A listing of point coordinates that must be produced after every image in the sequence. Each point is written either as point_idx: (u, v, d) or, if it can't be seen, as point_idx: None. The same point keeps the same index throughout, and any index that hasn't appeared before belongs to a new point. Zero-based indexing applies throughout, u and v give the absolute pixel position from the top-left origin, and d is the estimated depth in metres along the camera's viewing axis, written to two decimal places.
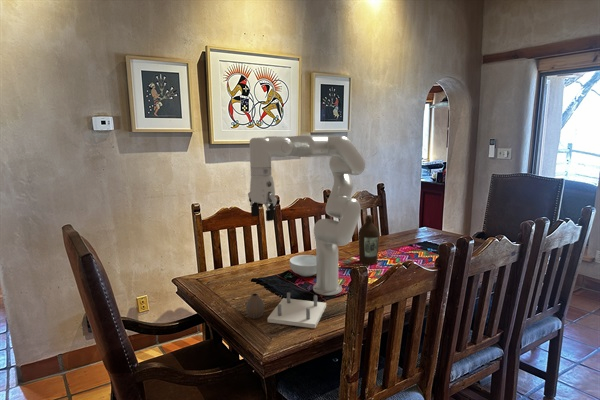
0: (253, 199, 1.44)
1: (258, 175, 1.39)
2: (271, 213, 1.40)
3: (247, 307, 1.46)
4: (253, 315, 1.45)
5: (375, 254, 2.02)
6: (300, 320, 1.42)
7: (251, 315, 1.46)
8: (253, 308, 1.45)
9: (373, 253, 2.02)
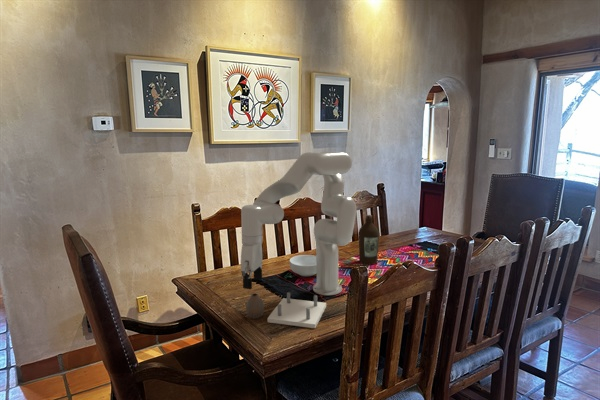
0: (255, 268, 1.42)
1: None
2: None
3: (247, 307, 1.46)
4: (253, 315, 1.45)
5: (375, 254, 2.02)
6: (300, 320, 1.42)
7: (251, 315, 1.46)
8: (253, 308, 1.45)
9: (373, 253, 2.02)
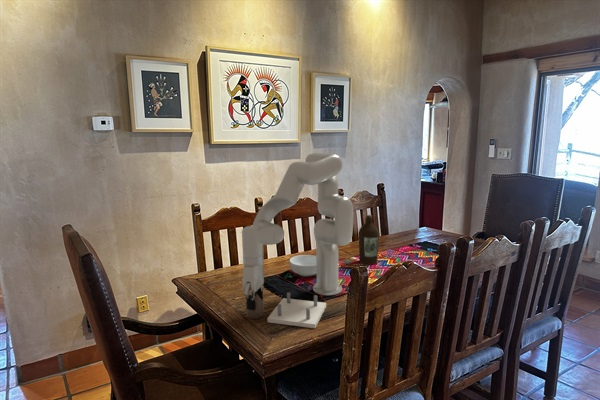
0: (257, 288, 1.44)
1: None
2: None
3: None
4: (253, 315, 1.45)
5: (375, 254, 2.02)
6: (300, 320, 1.42)
7: (251, 315, 1.46)
8: None
9: (373, 253, 2.02)
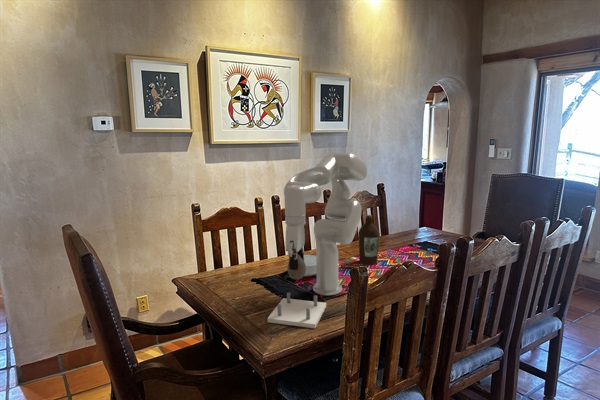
0: (299, 248, 1.43)
1: None
2: None
3: None
4: (295, 275, 1.44)
5: (375, 254, 2.02)
6: (300, 320, 1.42)
7: (293, 275, 1.45)
8: None
9: (373, 253, 2.02)
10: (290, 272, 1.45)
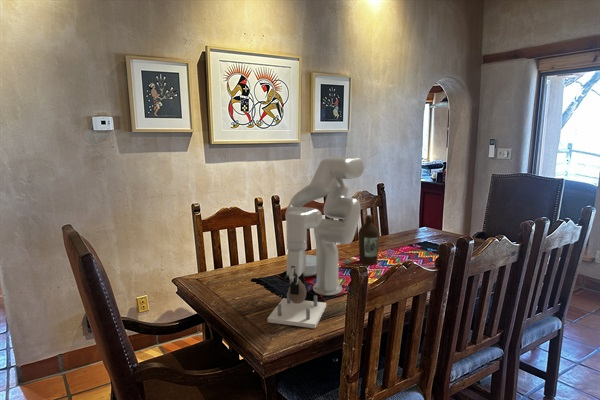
0: (300, 273, 1.44)
1: None
2: None
3: None
4: (296, 300, 1.46)
5: (375, 254, 2.02)
6: (300, 320, 1.42)
7: (294, 300, 1.46)
8: None
9: (373, 253, 2.02)
10: (291, 297, 1.46)
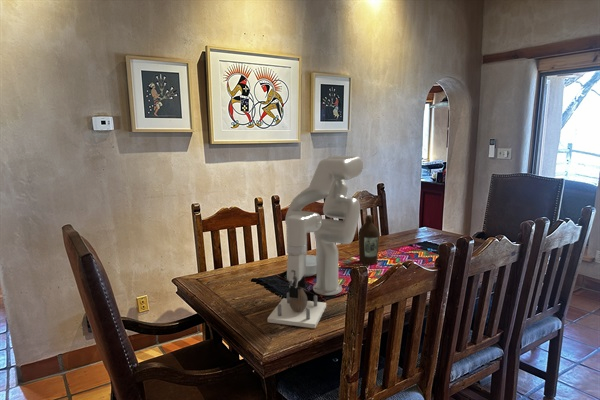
0: (301, 277, 1.45)
1: None
2: None
3: (291, 300, 1.47)
4: (297, 308, 1.47)
5: (375, 254, 2.02)
6: (300, 320, 1.42)
7: (295, 308, 1.47)
8: (298, 301, 1.46)
9: (373, 253, 2.02)
10: (292, 305, 1.47)
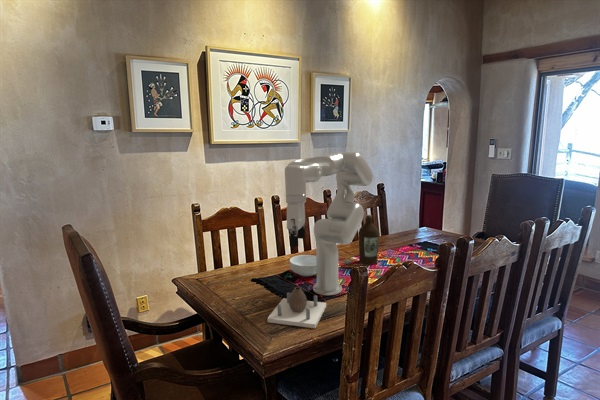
0: (300, 226, 1.46)
1: None
2: None
3: (290, 301, 1.47)
4: (297, 309, 1.47)
5: (375, 254, 2.02)
6: (300, 320, 1.42)
7: (295, 309, 1.47)
8: (297, 301, 1.46)
9: (373, 253, 2.02)
10: (292, 305, 1.47)
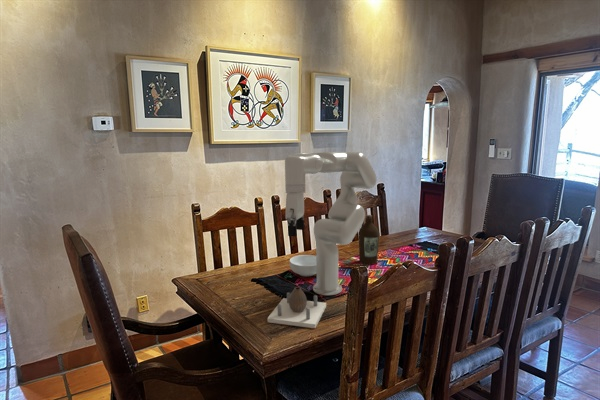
0: (299, 216, 1.47)
1: None
2: None
3: (291, 301, 1.47)
4: (297, 309, 1.47)
5: (375, 254, 2.02)
6: (300, 320, 1.42)
7: (295, 309, 1.47)
8: (297, 301, 1.46)
9: (373, 253, 2.02)
10: (292, 305, 1.47)
